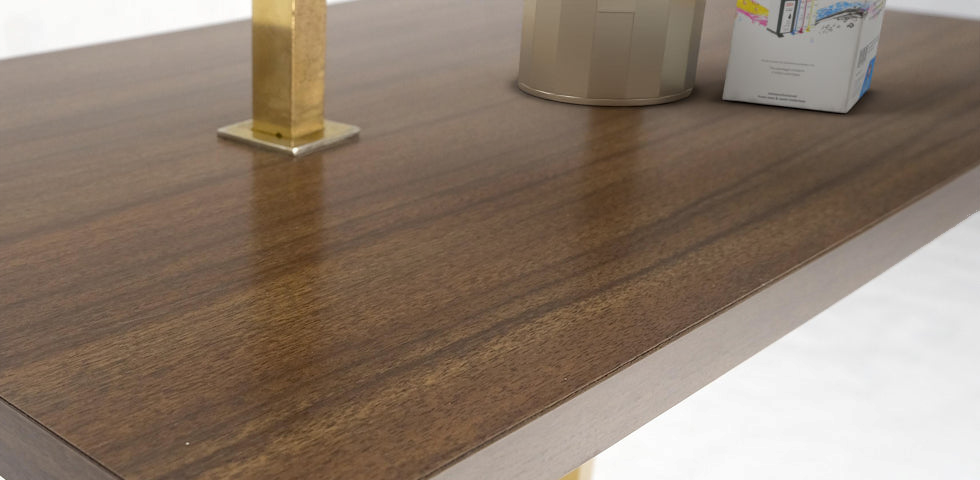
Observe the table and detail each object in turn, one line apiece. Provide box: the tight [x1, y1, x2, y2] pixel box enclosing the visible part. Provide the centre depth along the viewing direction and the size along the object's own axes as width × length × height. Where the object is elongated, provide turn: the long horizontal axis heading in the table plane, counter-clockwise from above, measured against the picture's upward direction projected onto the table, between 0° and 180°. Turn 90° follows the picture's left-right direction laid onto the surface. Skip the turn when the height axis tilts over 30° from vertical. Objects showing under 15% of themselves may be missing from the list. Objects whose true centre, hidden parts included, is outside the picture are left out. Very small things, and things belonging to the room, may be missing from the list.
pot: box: [517, 0, 707, 107], centre depth 86 cm, size 13×18×8 cm
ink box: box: [721, 0, 887, 114], centre depth 82 cm, size 9×8×12 cm
